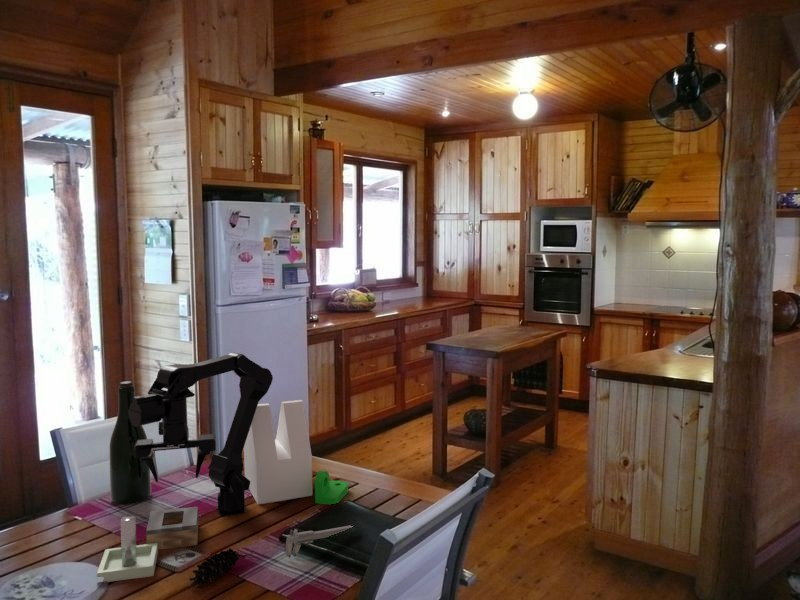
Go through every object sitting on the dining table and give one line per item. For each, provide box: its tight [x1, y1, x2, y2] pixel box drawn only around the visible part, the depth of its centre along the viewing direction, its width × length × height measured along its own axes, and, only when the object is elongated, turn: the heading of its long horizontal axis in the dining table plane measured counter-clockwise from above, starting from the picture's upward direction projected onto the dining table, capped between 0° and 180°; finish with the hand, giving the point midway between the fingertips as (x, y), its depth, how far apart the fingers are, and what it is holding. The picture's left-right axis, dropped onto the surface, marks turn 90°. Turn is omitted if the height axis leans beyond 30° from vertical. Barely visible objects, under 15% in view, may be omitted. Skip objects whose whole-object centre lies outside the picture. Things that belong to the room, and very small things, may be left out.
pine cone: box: [188, 547, 252, 589], centre depth 139 cm, size 18×5×5 cm
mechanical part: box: [314, 470, 349, 506], centre depth 181 cm, size 12×6×8 cm, turn 165°
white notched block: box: [243, 399, 313, 505], centre depth 186 cm, size 19×15×25 cm
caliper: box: [285, 524, 354, 559], centre depth 151 cm, size 20×1×6 cm, turn 134°
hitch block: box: [145, 505, 199, 551], centre depth 155 cm, size 11×11×5 cm
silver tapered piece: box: [120, 515, 137, 567], centre depth 141 cm, size 6×3×10 cm, turn 20°
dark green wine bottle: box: [108, 380, 152, 506], centre depth 178 cm, size 10×10×33 cm
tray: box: [96, 543, 159, 583], centre depth 141 cm, size 11×11×2 cm
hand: (177, 479), depth 159 cm, fingers open, 9 cm apart
